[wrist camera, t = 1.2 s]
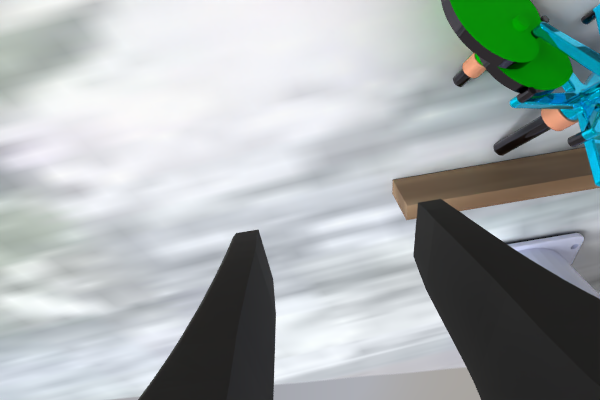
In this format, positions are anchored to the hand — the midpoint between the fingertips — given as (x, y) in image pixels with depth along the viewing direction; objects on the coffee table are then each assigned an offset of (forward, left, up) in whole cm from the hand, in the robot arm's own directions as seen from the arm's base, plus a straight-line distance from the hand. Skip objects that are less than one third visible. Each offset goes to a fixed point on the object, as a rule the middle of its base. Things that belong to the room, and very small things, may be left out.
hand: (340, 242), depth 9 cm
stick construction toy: (0, -10, -10) cm, 14 cm away
